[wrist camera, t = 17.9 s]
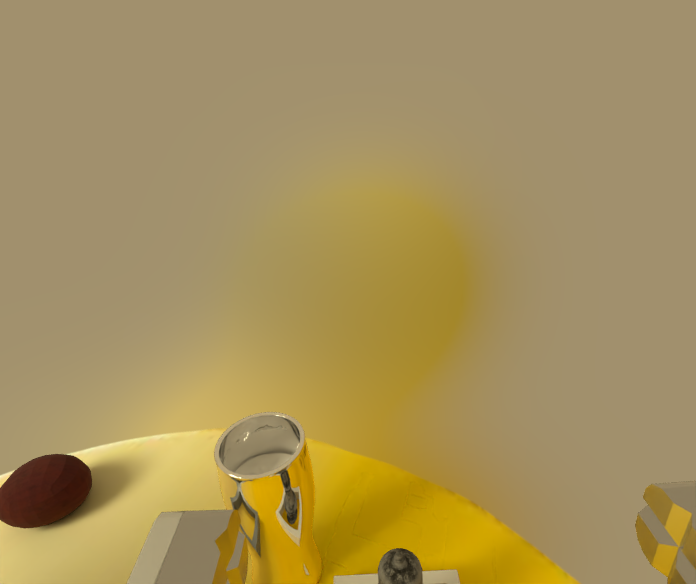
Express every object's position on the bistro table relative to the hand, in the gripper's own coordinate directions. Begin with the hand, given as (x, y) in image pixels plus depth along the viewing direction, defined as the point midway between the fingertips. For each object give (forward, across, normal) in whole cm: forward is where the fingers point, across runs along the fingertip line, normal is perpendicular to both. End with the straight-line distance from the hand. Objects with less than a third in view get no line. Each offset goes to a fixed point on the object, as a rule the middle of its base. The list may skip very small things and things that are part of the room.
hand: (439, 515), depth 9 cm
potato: (+26, +35, +30) cm, 53 cm away
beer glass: (+18, +9, +30) cm, 36 cm away
